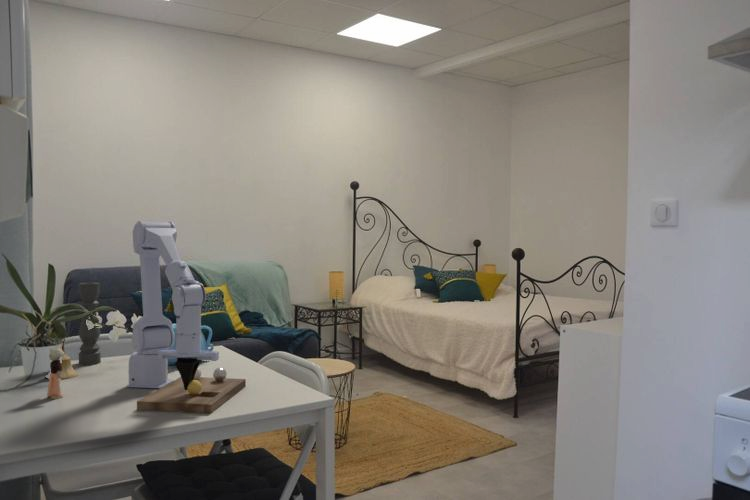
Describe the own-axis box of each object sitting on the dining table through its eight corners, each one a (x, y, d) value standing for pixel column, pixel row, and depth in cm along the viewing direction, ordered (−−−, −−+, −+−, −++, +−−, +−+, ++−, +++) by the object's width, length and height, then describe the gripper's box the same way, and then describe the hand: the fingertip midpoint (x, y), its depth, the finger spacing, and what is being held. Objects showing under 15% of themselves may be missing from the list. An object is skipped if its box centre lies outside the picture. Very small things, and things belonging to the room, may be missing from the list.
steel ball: (211, 382, 157) (211, 369, 157) (216, 379, 160) (216, 366, 160) (223, 382, 157) (223, 369, 156) (228, 379, 160) (228, 366, 160)
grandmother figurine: (41, 395, 150) (41, 345, 149) (57, 392, 153) (57, 343, 152) (53, 401, 145) (53, 349, 144) (70, 398, 148) (69, 347, 147)
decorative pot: (144, 362, 189) (143, 319, 189) (186, 354, 202) (186, 314, 202) (176, 369, 180) (176, 324, 179) (218, 360, 193) (218, 318, 193)
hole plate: (136, 409, 139) (136, 401, 139) (181, 383, 163) (181, 376, 163) (211, 413, 137) (211, 404, 137) (245, 386, 161) (245, 379, 161)
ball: (198, 382, 144) (197, 396, 144) (204, 379, 147) (203, 393, 147) (184, 380, 144) (183, 395, 144) (191, 377, 148) (189, 392, 148)
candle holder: (78, 365, 183) (77, 284, 182) (79, 361, 189) (78, 282, 188) (100, 364, 185) (100, 283, 185) (100, 360, 191) (100, 282, 190)
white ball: (185, 381, 158) (185, 368, 158) (191, 378, 161) (191, 365, 161) (198, 381, 157) (198, 368, 157) (203, 378, 161) (203, 365, 161)
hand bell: (79, 377, 169) (79, 321, 168) (45, 381, 164) (45, 323, 164) (76, 371, 176) (75, 317, 175) (43, 375, 171) (43, 319, 171)
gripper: (152, 335, 142) (152, 392, 143) (210, 337, 141) (210, 394, 141) (166, 330, 149) (166, 384, 150) (222, 332, 148) (221, 387, 148)
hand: (188, 389), depth 146 cm, fingers closed, pressing on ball
